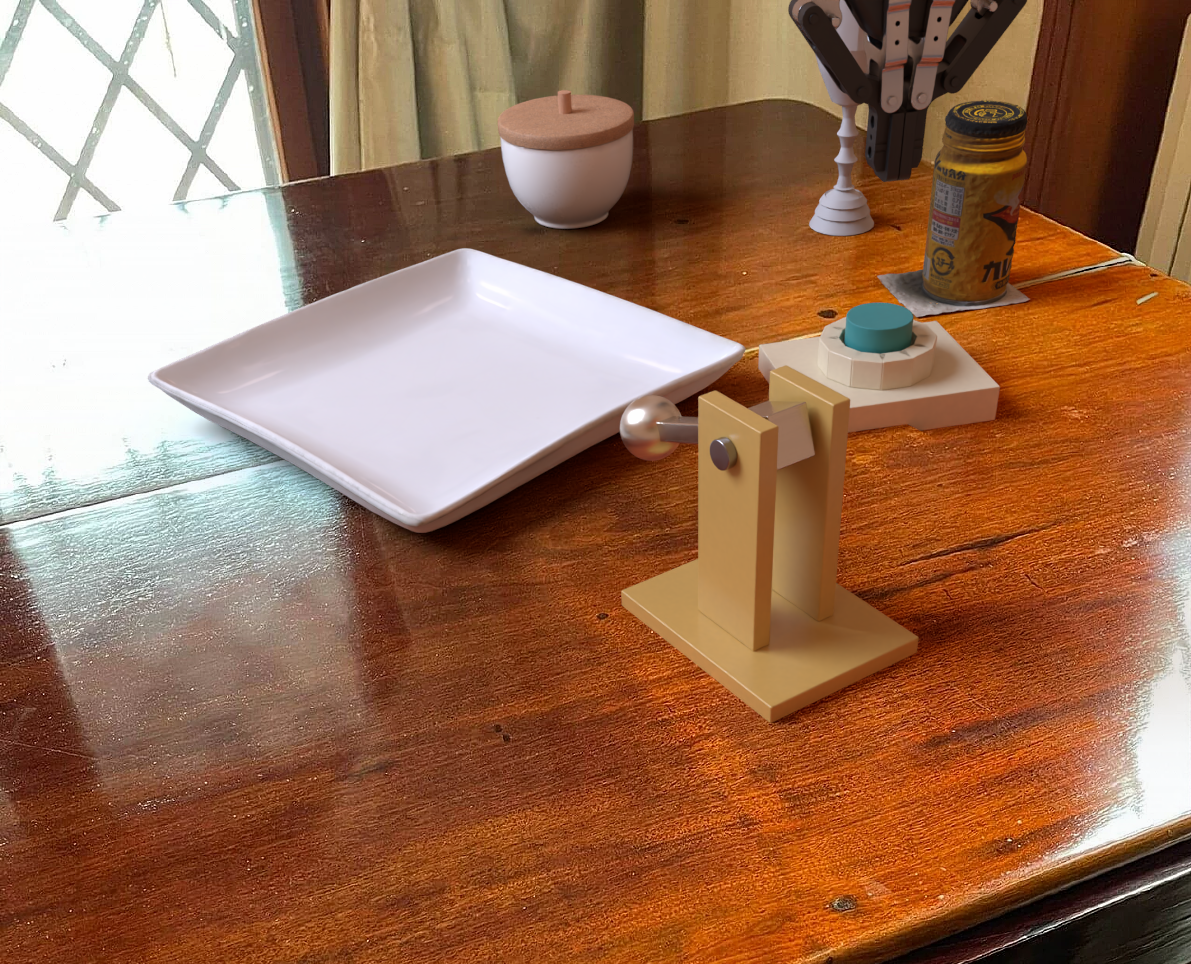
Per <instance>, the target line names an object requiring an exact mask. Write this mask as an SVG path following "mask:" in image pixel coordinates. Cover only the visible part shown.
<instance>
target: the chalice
mask: <svg viewBox="0 0 1191 964" xmlns="http://www.w3.org/2000/svg"><path fill="white" fill-rule="evenodd" d="M840 10H841V12H842V22H841V24H840V26H839V27H838V28H837V29H836V31H837V32H838V34H839V35H840V37H841V38H842V40H843V42H844V43H845V45H846V46H847V48H848V49H849V51H850V52H851V54H852V55H853V57H854V58H855V60H856V61H857V63H858V65H859V66H860V68H861V69H862V71H863V72H864V73H866V69H867V59H866V55H865V52H864V31H863V30H862V29H861V28H860V27H859V25H858V23H857V22H856V20H855V18H854V16H853V15H852V13H851V11H850V10H849V8H848V6H847V4H846V3H845V1H844V0H840ZM814 55H815V59H816V64H817V67H818V70H819V72H820V75H821V78H822V81H823V83H824V86H825V88H826V91H827V94H828V96H829V99H830V101H831V102H832V103H834V104H835V105H838V106H840V107H841V111H842V120H841V124H840V128H839V130H838V131H837V132H836V135H837V137H838V138H839V143H840V149H839V151H838V152H839V153H838V154H837V155H836V156H835V157H834V159H833V161H834V162H835V163H836V165H837V169H838V177H837V178H838V179H837V182H836V184H835V185H833V188H831V189H829V190H827V191H825V192H824V193H823V194H822V196H821V197H820V198H819V201H818V202H819V203H818V204H817V206H816V207H815V209H814V214H813V216H812V217H811V219H810V220H809V224H808V226H809V227H810V228H811V229H812V230H813V231H814V232H817V233H820V234H823V235H828V236H839V237H840V236H841V237H843V236H844V237H845V236H855V235H859V234H860V235H861V234H864V233H866V232H868V231H870V230H871V229H873V228H874V226H875V221H874V220H873V218H872V216H871V209H870V207H869V205H868V204H867V203H868V199H867V198H866V196H865V195H864V194H863V192H862V191H860V190H859V189H856V187H855V185H854V184H853V182H852V171H853V167H854V164H856V163H857V161H858V157H857V156H856V155H855V151H854V143H855V141H856V138H857V136H858V135H859V130H857V125H856V114H857V109H858V106H861V105H864V103H862V104H857V103H855V102H854V101H853V100H851V99H850V97H849V96H848V95H847V94H846V93H843V92H842V91H841V90H840V89H839V88H838V87H837V86H836V84H835V83H834V81H833V80H832V78H831V77H830V75H829V74H828V72H827V71H826V69H825V68H824V66H823V65H822V63H821V62H820V60H819V59H818V57H817V56H816V54H815V53H814Z"/></svg>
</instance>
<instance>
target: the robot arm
mask: <svg viewBox="0 0 1191 964" xmlns="http://www.w3.org/2000/svg"><path fill="white" fill-rule="evenodd" d="M844 1H845V3H846V4H847V6H848V8H849V10H850V11H851V13H852V15H853V16H854V18H855V20H856V22H857V23H858V25H859V27H860V28H861V29H862V30H863V31H864V52H865V55H866V59H867V69H866V73H864V72H863V71H862V69H861V68H860V66H859V65H858V63H857V61H856V60H855V58H854V57H853V55H852V54H851V52H850V51H849V49H848V48H847V46H846V45H845V43H844V42H843V40H842V38H841V37H840V35H839V34H838V32H837V31H836V29H837V28H838V27H839V26H840V24H841V22H842V12H841V10H840V0H790V2H789V4H788V7H787V9H788V10H787V11H788V15H789V17H790V19H791V20H792V21H793V23H794V25H795V26H796V27H797V29H798V31H799V32H800V34H801V35H802V37H803V38H804V40H805V41H806V42H807V44H808V46H809V47H810V48H811V50H812V51H813V53H814V55H815V54H816V55H815V57H816V56H817V57H818V59H819V60H820V62H821V63H822V65H823V66H824V68H825V69H826V71H827V72H828V74H829V75H830V77H831V78H832V80H833V81H834V83H835V84H836V86H837V87H838V88H839V89H840V90H841V91H842V92H843V93H846V94H847V95H848V96H849V97H850V99H851V100H853V101H854V102H855V103H857V104H861V105H863V104H866V105H867V106H868V116H867V125H866V126H867V127H866V140H865V150H864V157H865V160H866V163H867V165H868V166H869V167H870V168H871V169H872V170H873V172H874V175H875V176H876V177H878V179H879V180H881V182H883V183H887V182H898V181H906V180H907V181H908V180H910V179H911V177H912V170H913V169H917V168H918V167H919V165H920V162H921V161H922V158H923V150H924V139H925V133H926V132H925V131H926V124H927V116H928V115H927V114H928V109H929V108H930V106H931V104H933V102H934V101H935V100H937V99H939V98H940V97H942V96H944V95H946V94H948V93H949V94H953V95H955V94H957V93H959V92H960V91H961V90H963V88H964V87H965V85H966V84H967V82H968V81H969V80H970V79H971V77H972V76H973V74H975V72H976V70H977V69H978V68H979V67H980V65H981V64H982V63H983V61H984V60H985V59H986V58H987V56H988V55H989V53H990V52H991V51H992V49H994V47H995V46H996V44H997V43H998V42H999V41H1000V40H1001V37H1002V36H1003V35H1004V33H1005V32H1006V31H1007V29H1009V27H1010V26H1011V24H1012V23H1013V21H1014V20H1015V19H1016V18H1017V17H1018V15H1019V14H1020V12H1021V11H1022V10H1023V9H1024V8H1025V6H1026V4H1027V2H1028V0H844ZM968 2H970V9H969V10H968V12H967V13H965V16H964V17H963V18H962V19H961V21H960V22H959V24H958V25H957V26H956V28H955V29H954V30H953V32H952V33H951V35H950V36H949V37H948V33H949V28H950V27H951V26H952V25H953V24H954V22H955V21H956V19H957V18H958V16H959V15H960V14H961V12H962V11H963V9H964V8H965V6H966V5H967V3H968ZM862 103H863V104H862Z"/></svg>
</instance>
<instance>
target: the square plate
mask: <svg viewBox="0 0 1191 964" xmlns="http://www.w3.org/2000/svg"><path fill="white" fill-rule="evenodd" d="M746 351H747V350H746V347H745V346H744V345H743V344H742V343H740V342H738V341H734V340H733V339H729V338H727V337H724V336H720V335H718V334H715V333H713V332H711V331H707V330H706V329H702V328H700V327H697V326H694V325H693V324H690V323H687V322H685V321H682V320H679V319H677V318H674V317H671V316H669V315H666V314H664V313H662V312H658V311H656V310H654V309H650V308H648V307H645V306H643V305H640V304H637V303H634V302H633V301H628V300H627V299H623V298H620V297H617V296H615V295H612V294H609V293H606V292H604V291H600V290H598V289H595V288H592V287H590V286H587V285H583V284H581V283H579V282H575V281H573V280H569V279H566V278H564V277H561V276H557V275H554V274H551V273H548V272H546V271H542V270H540V269H536V268H534V267H530V266H527V265H524V264H521V263H518V262H514V261H511V260H508V259H505V258H501V257H499V256H496V255H492V254H490V253H487V252H483V251H480V250H477V249H473V248H467V247H463V248H458V249H455V250H452V251H449V252H446V253H444V254H440V255H438V256H434V257H433V258H429V259H427V260H425V261H422V262H419V263H416V264H412V265H409V266H407V267H405V268H401V269H399V270H396V271H392V272H390V273H388V274H384V275H382V276H380V277H377V278H374V279H371V280H368V281H366V282H365V281H364V282H363V283H360V284H357V285H355V286H352V287H350V288H348V289H345V290H343V291H339V292H337V293H334V294H332V295H329V296H327V297H324V298H321V299H319V300H317V301H314V302H312V303H309V304H307V305H304V306H302V307H299V308H296V309H294V310H292V311H290V312H287V313H285V314H282V315H280V316H278V317H274V318H273V319H270V320H268V321H265V322H263V323H261V324H258V325H256V326H254V327H251V328H249V329H247V330H243V331H242V332H239V333H237V334H235V335H233V336H230V337H228V338H226V339H223V340H221V341H218V342H216V343H214V344H212V345H210V346H207V347H205V348H203V349H201V350H199V351H196V352H194V353H192V354H189V355H187V356H185V357H183V358H181V359H178V360H177V359H176V360H175V361H173V362H170V363H168V364H166V365H164V366H162V367H159V368H157V369H155V370H153V371H151V372H149V373H148V375H147V380H148V382H149V384H151V385H153V386H154V387H156V388H157V389H159V390H160V391H161V392H163V393H164V394H166V395H167V396H168V397H170V398H172V399H173V400H175V401H176V402H177V403H179V404H181V405H183V406H184V407H186V408H187V409H189V410H190V411H192V412H194V413H195V414H197V415H199V416H200V417H203V418H205V419H206V420H208V421H210V422H212V423H214V424H216V425H218V426H220V427H222V428H224V429H226V430H227V431H231V432H232V433H234V434H236V435H238V436H240V437H242V438H244V439H245V440H248V441H250V443H251V442H252V443H254V444H255V445H256V446H259V447H261V448H263V449H264V450H266V451H269V452H270V453H272V454H274V455H275V456H277V457H279V458H281V459H283V460H285V461H287V462H288V463H290V464H292V465H294V466H296V467H297V468H299V469H300V470H302V471H304V472H305V473H307V474H309V475H311V476H313V477H314V478H316V479H317V480H319V481H321V482H323V483H324V484H326V485H327V486H329V487H331V488H333V489H334V490H336V491H337V492H339V493H340V494H342V495H344V496H345V497H347V498H348V499H351V500H352V501H354V502H355V503H356V504H358V505H360V506H362V507H364V508H365V509H366V510H368V511H370V512H372V513H374V514H376V515H377V516H379V517H382V518H383V519H385V520H387V521H389V522H391V523H392V524H394V525H397V526H400V527H402V528H404V529H405V530H408V531H410V532H414V533H418V534H419V533H420V534H426V533H429V532H434V531H436V530H439V529H441V528H444V527H446V526H449V525H451V524H453V523H456V522H457V521H459V520H461V519H463V518H465V517H467V516H469V515H470V514H472V513H474V512H476V511H478V510H480V509H482V508H484V507H486V506H488V505H489V504H491V503H493V502H495V501H496V500H498V499H500V498H502V497H503V496H506V495H507V494H508V493H510V492H512V491H514V490H515V489H517V488H519V487H521V486H523V485H525V484H527V483H528V482H530V481H532V480H533V479H535V478H537V477H539V476H540V475H542V474H544V473H545V472H548V471H549V470H551V469H553V468H555V467H556V466H558V465H561V464H562V463H564V462H565V461H567V460H569V459H571V458H572V457H575V456H576V455H578V454H580V453H582V452H584V451H585V450H588V449H589V448H591V447H593V446H595V445H597V444H599V443H600V442H603V441H604V440H607V439H609V438H610V437H612V436H615V435H616V434H618V433H620V422H621V418H622V415H623V413H624V411H625V410H626V408H627V407H628V406H629V405H630V404H631V403H632V402H633V401H635V400H636V399H638V398H640V397H643V396H647V395H657V396H661V397H664V398H666V399H668V400H669V401H671V402H672V403H673V404H674V405H675V406H676V404H678V403H680V402H683V401H684V400H686V399H688V398H690V397H691V396H693V395H695V394H697V393H699V392H700V391H703V390H704V389H706V388H707V387H709V386H710V385H712V384H714V383H715V382H716V381H717V380H719V379H720V378H721V377H722V376H724V375H725V374H726V373H727V372H729V370H730V369H731V368H732V367H734V365H736V364H737V363H739V361H741V360H742V358H743V357H744V354H745V353H746Z"/></svg>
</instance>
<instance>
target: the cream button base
mask: <svg viewBox="0 0 1191 964" xmlns="http://www.w3.org/2000/svg"><path fill="white" fill-rule="evenodd" d="M845 327H846V316H844V317H842V318H840V319H838V320H835V321H833V322H831V323H829V324H827V325H825V326H824V327H823V330H822V332H821V334H820V336H815V337H807V338H800V339H793V340H785V341H777V342H770V343H762V344H759V345H758V364H757V365H758V367H757V368H758V370H759V371H760V373H761V374H762V376H763V378H764V379H765V380H766V382H767V383H768V384H769V383H770V371H771V370H774V369H777V368H780V367H782V366H785V365H786V366H789V367H791V368H793V369H795V370H796V371H798V372H800V373H802V374H804V375H806V376H808V377H810V378H812V379H813V380H815V381H817V382H819V383H821V384H823V385H825V386H827V387H829V388H831V389H832V390H834V391H836V392H838V393H840V394H842V395H844V396H846V397H848V398H849V399H850V412H849V425H848V433H853V432H860V431H861V432H862V431H867V430H868V431H869V430H875V429H881V428H889V427H890V428H891V427H895V426H896V427H897V426H903V425H908V426H910V427H912V428H913V429H915V430H918V431H920V432H921V431H928V430H935V429H942V428H949V427H956V426H962V425H969V424H976V423H983V422H990V421H995V420H996V415H997V408H998V404H999V403H998V402H999V396H1000V390H1001V386H1000V385H999V384H998V383H997V381H995V379H993V378H992V377H991V376H990V375H989V374H988V373H987V371H986V370H985V369H984V368H983V367H982V366H981V365H980V364H979V363H978V362H977V361H976V360H975V359H974V357H972V356H971V354H969V353H968V352H967V350H965V349H964V348H963V346H962V345H960V344H959V342H958V341H957V340H956V339H955V338H954V337H953V335H951V334H950V333H949V332H948V331H947V330H946V329H945V328H944V327H943V325H941V324H940V323H939V322H938V321H937V320H933V321H924V322H922V321H918V320H916V319H913V328H912V337H911V345H910V347H908V348H906V349H904V350H902V351H897V352H890V353H883V354H878V353H867V352H860V351H857V350H855V349H852V348H849V347H847V346H845Z"/></svg>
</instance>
